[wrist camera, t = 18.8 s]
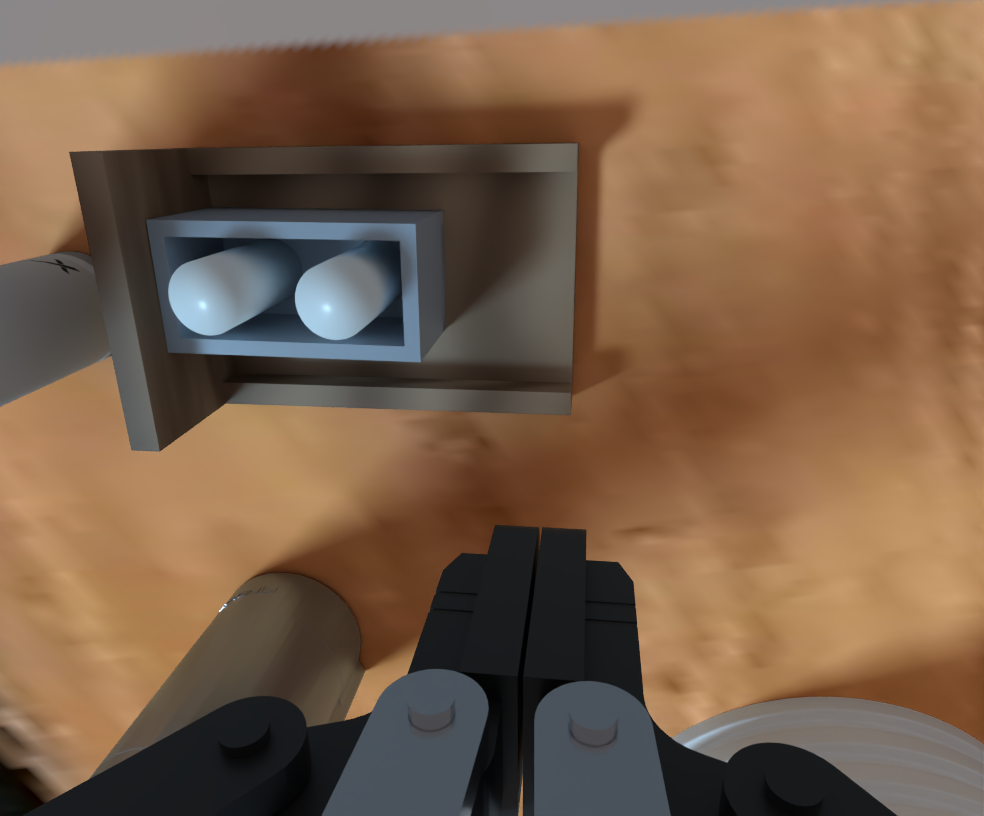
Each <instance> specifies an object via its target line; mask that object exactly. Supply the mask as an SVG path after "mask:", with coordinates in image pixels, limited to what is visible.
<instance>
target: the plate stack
mask: <svg viewBox="0 0 984 816" xmlns="http://www.w3.org/2000/svg"><path fill="white" fill-rule="evenodd" d="M672 739H674V740H675V741H676V742H678V743H680V744H682V745H683V746H685V747H687V748H689V749H692V750H694V751H696V752H699V753H702V754H704V755H707V756H710V757H713V758H716V759H718V760H721V761H724V762H727V763H728V761H729V759H730V758H731V757H732V756H733V755H734V754H735V753H736V752H738V751H739V750H740V749H742V748H745V747H747V746H749V745H753V744H757V743H766V742H771V743H782V744H788V745H792V746H796V747H799V748H802V749H805V750H807V751H809V752H812V753H814V754H816V755H818V756H819V757H821V758H823V759H825V760H826V761H828V762H829V763H831V764H832V765H833V766H835V767H836V768H837V769H839V770H840V771H841V772H842V773H844V774H845V775H846V776H848V777H849V778H850V779H851V780H853V781H854V782H855V783H856V784H858V785H859V786H860V787H862V788H863V789H864V790H865V791H867V792H868V793H869V794H871V795H872V796H873V797H874V798H876V799H877V800H878V801H879V802H881V803H882V804H883V805H885V806H886V807H887V808H888V809H890V810H891V811H892V812H893V813H895V814H896V815H897V816H984V744H983V743H981V742H980V741H978V740H977V739H975V738H974V737H972V736H971V735H969V734H967V733H966V732H964V731H962V730H960V729H958V728H956V727H955V726H952V725H950V724H948V723H946V722H944V721H942V720H939V719H937V718H935V717H932V716H929V715H927V714H924V713H921V712H918V711H915V710H911V709H908V708H904V707H901V706H897V705H892V704H888V703H883V702H878V701H871V700H865V699H857V698H845V697H800V698H789V699H780V700H773V701H768V702H762V703H757V704H753V705H748V706H745V707H741V708H737V709H734V710H731V711H728V712H725V713H722V714H719V715H716V716H714V717H711V718H709V719H707V720H704V721H702V722H700V723H698V724H696V725H694V726H692V727H690V728H688V729H686V730H684V731H682V732H681V733H679V734H677V735H676V736H674V737H673V738H672Z"/></svg>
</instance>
